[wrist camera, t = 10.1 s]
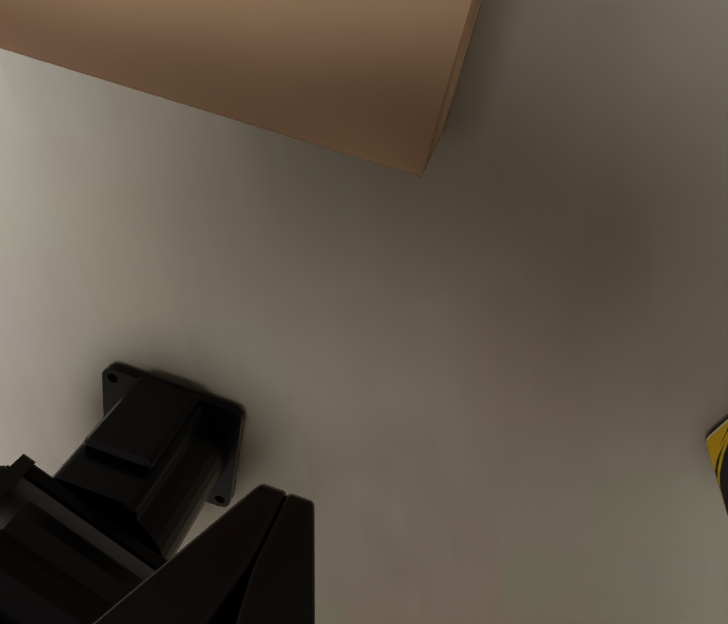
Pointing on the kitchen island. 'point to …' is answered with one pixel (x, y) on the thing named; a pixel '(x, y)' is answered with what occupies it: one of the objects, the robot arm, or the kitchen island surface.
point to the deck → (272, 62)
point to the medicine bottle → (720, 458)
